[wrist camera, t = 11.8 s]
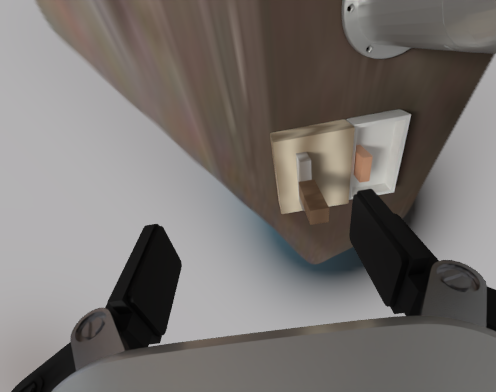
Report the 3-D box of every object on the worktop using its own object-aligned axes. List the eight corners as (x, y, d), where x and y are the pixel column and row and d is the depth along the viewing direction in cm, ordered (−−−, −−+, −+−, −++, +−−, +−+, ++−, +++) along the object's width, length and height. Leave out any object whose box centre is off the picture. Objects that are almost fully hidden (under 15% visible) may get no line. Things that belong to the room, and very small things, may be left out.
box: (399, 108, 36) (411, 114, 34) (385, 183, 44) (393, 192, 42) (346, 118, 37) (354, 124, 34) (341, 190, 45) (347, 199, 42)
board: (344, 119, 37) (354, 127, 34) (340, 190, 45) (348, 203, 42) (269, 133, 38) (272, 142, 35) (278, 201, 46) (281, 213, 43)
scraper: (308, 151, 36) (329, 186, 27) (310, 197, 41) (328, 239, 32) (293, 153, 36) (309, 189, 28) (296, 200, 41) (310, 241, 33)
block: (351, 146, 39) (360, 144, 39) (349, 169, 42) (357, 167, 41) (362, 157, 35) (372, 156, 35) (359, 182, 38) (369, 181, 38)
